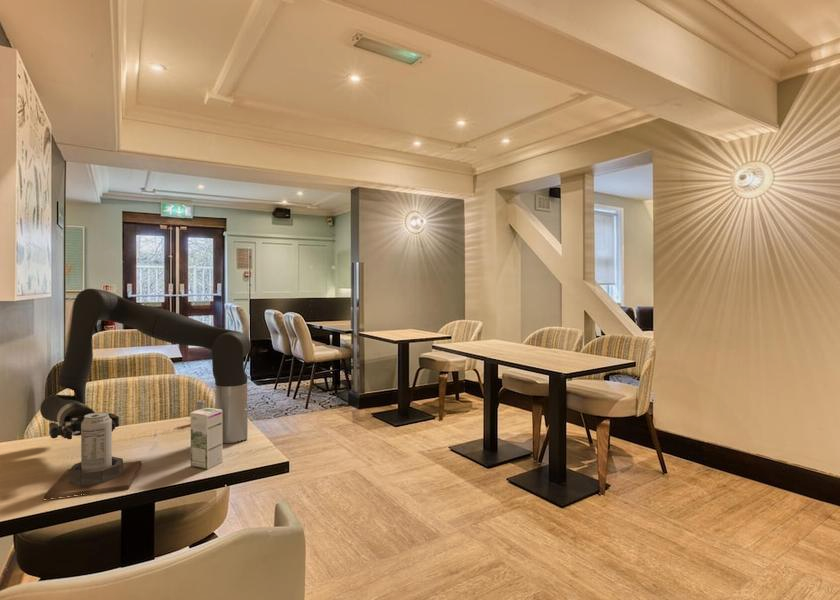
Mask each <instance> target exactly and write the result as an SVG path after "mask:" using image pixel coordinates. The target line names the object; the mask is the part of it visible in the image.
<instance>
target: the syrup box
mask: <svg viewBox="0 0 840 600" xmlns="http://www.w3.org/2000/svg"><path fill="white" fill-rule="evenodd" d="M189 418H190V467H194V468H199V469H204V470H208V469H211V468H214V467H216V466H217V465H220V464H221V463H223V462H224V459H223V457H224V456H223V443H222V410H221V409H215V408H212V407H211V408H210V407H204V408H202V409H199V410H193V411H191V412H190V417H189Z"/></svg>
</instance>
